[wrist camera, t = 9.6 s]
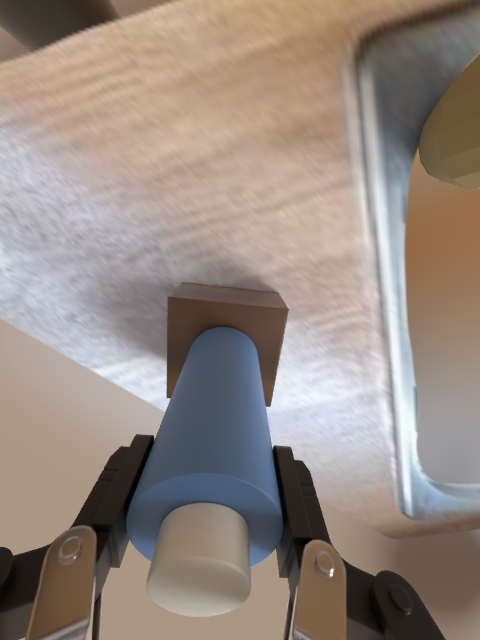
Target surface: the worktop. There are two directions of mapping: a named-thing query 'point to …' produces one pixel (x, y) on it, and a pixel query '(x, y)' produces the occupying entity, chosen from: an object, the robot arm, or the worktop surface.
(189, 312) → the walnut block
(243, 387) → the blue bottle
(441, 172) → the squeeze bottle
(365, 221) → the worktop surface
